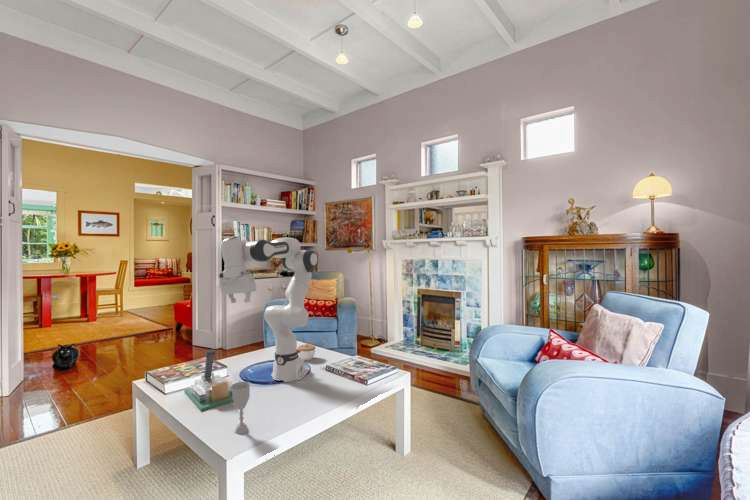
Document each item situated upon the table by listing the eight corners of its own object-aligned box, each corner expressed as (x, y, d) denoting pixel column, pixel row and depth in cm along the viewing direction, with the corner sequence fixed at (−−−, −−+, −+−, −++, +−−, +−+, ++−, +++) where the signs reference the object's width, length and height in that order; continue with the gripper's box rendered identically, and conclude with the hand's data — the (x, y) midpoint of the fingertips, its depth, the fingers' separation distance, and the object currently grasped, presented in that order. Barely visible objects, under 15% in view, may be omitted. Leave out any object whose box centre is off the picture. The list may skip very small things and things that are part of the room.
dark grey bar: (203, 379, 173) (202, 377, 174) (212, 377, 176) (210, 375, 177) (206, 352, 169) (205, 350, 170) (215, 350, 171) (214, 348, 172)
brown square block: (210, 401, 161) (210, 385, 161) (226, 396, 166) (226, 381, 165) (212, 402, 159) (211, 386, 159) (228, 398, 164) (227, 382, 164)
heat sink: (190, 392, 170) (189, 377, 170) (223, 383, 181) (222, 369, 180) (200, 403, 158) (200, 387, 158) (234, 393, 169) (234, 378, 169)
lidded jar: (310, 355, 229) (309, 340, 229) (318, 359, 221) (318, 344, 220) (294, 358, 222) (294, 343, 222) (303, 363, 214) (303, 347, 213)
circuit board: (184, 392, 173) (184, 389, 173) (222, 382, 185) (222, 380, 185) (200, 411, 154) (200, 408, 154) (241, 398, 166) (241, 396, 166)
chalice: (234, 437, 133) (234, 390, 133) (229, 430, 139) (228, 384, 138) (254, 430, 138) (253, 385, 138) (247, 423, 143) (247, 380, 143)
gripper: (257, 269, 157) (261, 300, 158) (227, 272, 168) (231, 301, 168) (245, 272, 152) (250, 303, 153) (215, 275, 162) (220, 304, 163)
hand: (240, 302), depth 161 cm, fingers open, 8 cm apart
